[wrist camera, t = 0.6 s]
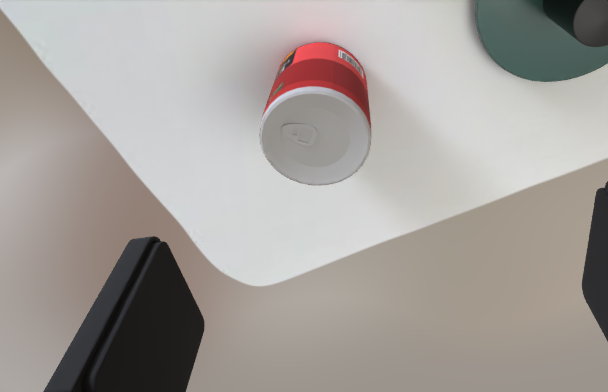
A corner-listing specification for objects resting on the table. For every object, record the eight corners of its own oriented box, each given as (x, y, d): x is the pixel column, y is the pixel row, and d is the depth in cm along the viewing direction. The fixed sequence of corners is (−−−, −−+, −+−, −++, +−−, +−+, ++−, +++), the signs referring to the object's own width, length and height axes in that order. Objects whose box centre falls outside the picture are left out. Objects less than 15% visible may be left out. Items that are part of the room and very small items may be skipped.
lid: (468, -82, 35) (493, -71, 29) (679, -139, 32) (754, -139, 26) (477, 91, 42) (498, 128, 36) (650, 57, 39) (703, 91, 33)
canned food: (276, 37, 41) (255, 87, 32) (370, 40, 40) (377, 92, 31) (278, 119, 45) (260, 184, 36) (363, 123, 45) (367, 189, 36)
